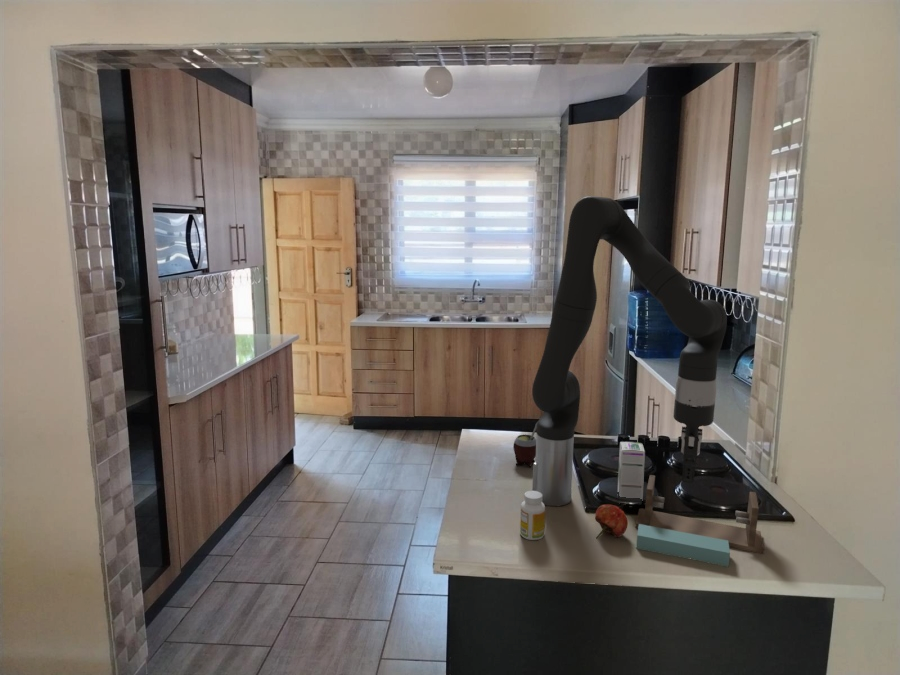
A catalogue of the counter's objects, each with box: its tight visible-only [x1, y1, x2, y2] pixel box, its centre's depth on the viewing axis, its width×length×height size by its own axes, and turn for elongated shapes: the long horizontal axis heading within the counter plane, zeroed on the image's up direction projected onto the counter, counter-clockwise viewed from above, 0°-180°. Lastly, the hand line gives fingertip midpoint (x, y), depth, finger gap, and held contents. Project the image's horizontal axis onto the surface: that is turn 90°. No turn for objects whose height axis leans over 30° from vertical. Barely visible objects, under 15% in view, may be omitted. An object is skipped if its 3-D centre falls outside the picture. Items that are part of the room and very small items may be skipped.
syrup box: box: [617, 441, 646, 500], centre depth 143 cm, size 6×6×14 cm
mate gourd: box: [512, 421, 538, 469], centre depth 165 cm, size 8×8×15 cm
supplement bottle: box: [519, 490, 546, 541], centre depth 127 cm, size 5×5×10 cm
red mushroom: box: [594, 503, 629, 539], centre depth 128 cm, size 7×7×10 cm
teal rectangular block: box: [635, 524, 731, 568], centre depth 122 cm, size 18×5×4 cm, turn 68°
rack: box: [635, 474, 765, 554], centre depth 129 cm, size 26×8×10 cm, turn 66°
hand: (688, 473), depth 118 cm, fingers open, 8 cm apart
